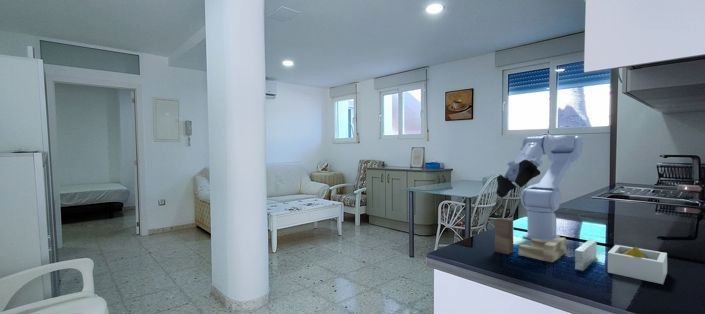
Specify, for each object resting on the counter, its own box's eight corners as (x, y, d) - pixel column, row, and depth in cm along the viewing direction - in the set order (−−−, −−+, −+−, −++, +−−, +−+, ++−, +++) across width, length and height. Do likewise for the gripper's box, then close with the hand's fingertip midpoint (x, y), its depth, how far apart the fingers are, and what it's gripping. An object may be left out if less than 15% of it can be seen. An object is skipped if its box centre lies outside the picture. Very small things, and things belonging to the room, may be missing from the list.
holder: (615, 262, 77) (615, 244, 77) (667, 272, 71) (667, 253, 71) (607, 272, 72) (607, 252, 72) (663, 284, 65) (662, 262, 65)
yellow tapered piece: (655, 274, 71) (660, 252, 66) (630, 282, 72) (633, 261, 67) (635, 254, 76) (638, 232, 70) (612, 262, 77) (614, 241, 71)
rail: (589, 256, 82) (589, 239, 82) (596, 258, 81) (596, 240, 81) (575, 269, 74) (575, 250, 74) (582, 270, 73) (582, 251, 73)
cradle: (533, 246, 91) (533, 232, 91) (565, 252, 85) (565, 238, 85) (518, 254, 84) (518, 240, 84) (552, 262, 78) (552, 246, 78)
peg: (500, 248, 90) (500, 217, 90) (513, 251, 87) (513, 219, 87) (495, 251, 88) (494, 219, 88) (508, 254, 85) (507, 221, 85)
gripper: (499, 163, 100) (481, 189, 93) (533, 140, 88) (515, 168, 81) (516, 179, 99) (499, 206, 92) (554, 157, 87) (537, 187, 80)
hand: (508, 190), depth 87 cm, fingers open, 7 cm apart
